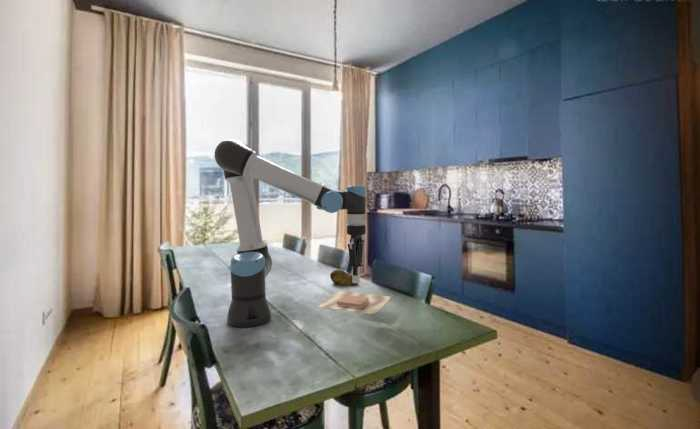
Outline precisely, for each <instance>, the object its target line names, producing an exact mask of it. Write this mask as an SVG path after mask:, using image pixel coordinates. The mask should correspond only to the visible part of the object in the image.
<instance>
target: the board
mask: <svg viewBox="0 0 700 429" xmlns="http://www.w3.org/2000/svg"><path fill="white" fill-rule="evenodd" d="M345 295H352V296H361V297H369V302H368V303H366V304H365V305H364V306H363V307H362V308H353V307H345V306H338V305H337V301H338V300H339V299H341V298H342V297H343V296H345ZM391 298H392V296H389V295H380V294H372V293H371V294H369V293H363V292H362V293H361V292H354V291H344V290H337V291H336V292H335V293H333V294H332V295H330V296H329V297H327V298H326V299H325V300H324V301H322V302H320V303H319V304H317V305H316V306H315V307H316V308H323V309H331V310H340V311H346V312H353V313H354V312H355V313H361V314H367V315H368V314H369V315H377V314H378V313H379V312H380V311H381V309H382V308H383V307H384V306H385V305H386V304H387V303H388V302H389V300H390V299H391Z"/></svg>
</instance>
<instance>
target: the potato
mask: <svg viewBox="0 0 700 429" xmlns="http://www.w3.org/2000/svg"><path fill="white" fill-rule="evenodd" d="M329 278H330V279H331V282H332V283H333V284H335V285H339V286H343V287H349V286H350V287H352V286H357V285H359V284H358V283H352V274H350V273H348V272H346V271H344V270H342V269H334V270H333V271H331V273H330V277H329Z"/></svg>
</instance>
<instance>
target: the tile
mask: <svg viewBox="0 0 700 429" xmlns="http://www.w3.org/2000/svg"><path fill="white" fill-rule="evenodd" d="M368 302H369V297H361V296H352V295H345V296H343V297H342V298H341V299H339V300H338V301H337V305H338V306H345V307H353V308H362V307H363V306H364V305H365V304H366V303H368Z"/></svg>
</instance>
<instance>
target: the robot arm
mask: <svg viewBox="0 0 700 429" xmlns="http://www.w3.org/2000/svg"><path fill="white" fill-rule="evenodd" d="M214 160H215V163H216V164H217V165H218V167H219V168H221V169H222V170H223V171H222V172H223V176H224V180H225V181H226V182H228V183H229V187H230V192H231V197H232V204H233V210H234V217H235V222H236V228H237V233H238V234H237V235H238V240H239V246H238V248H236V251H237V254H235V255H233V256H232V257H231V259H230V265H229V267H230V268H229V269H230V285H231V286H230V288H231V291H230V292H231V302H230V305H229V307H228V308H229V309H228V312H227V315H226V319H227V320H226V323H227V324H228V325H229V326H230V327H235V328H253V327H257V326H258V327H259V326H261V325H265V324H266V323H268V322H269V321H270V320H271V319H272V310H271V309H270V306H269V303H268V300H267V298H266V278H267V277H268V275H269V273H271V269H272V267H273V266H272V265H273V261H272V257H271V255H270V253H269V247H268V244H267V243H266V242H265V241H264V240H263V236H262V230H261V228H262V227H261V223H260V217H259V211H258V205H257V199H256V191H255V186H254V179H255V180H258V181H259V182H262V183H265V184H267V185H268V186H271V187H273V188H275V189H278V190H279V191H282V192H284V193H287V194H288V195H290V196H293V197H295V198H298V199H299V200H303V201H304V202H307V203H309V204H311V205H313V206H315V207H316V209H317V210H320V211H321V210H323V211H325V212H327V213H329V214H334V213H337V212H339V211H342V210H344V211H345V210H346V224H347V225H346V234H347V235H350V239H349V243H348V244H347V248H348V257H349V267H350V268H352V269H351V270H352V271H351V272H352V273H351V275H352V283H358V285H359V284H360V283H361V267H363V264H362V263H363V254H364V252H363V251H364V243H365V239H363V237H362V236H363V235H366V229H367V228H366V220H367V218H368V217H367V216H366V214H367V213H366V212H367V209H366V204H367V202H366V201H367V197H366V195H367V193H366V187H365V185H347V186H346V188H345V189H346V190H345V189H344V190H333V189H331V188H329V187H326V186H323V185H322V184H319V183H317V182H315V181H312V180H310V179H309V178H307V177H304V176H302V175H300V174H298V173H296V172H293V171H291V170H289V169H287V168H285V167H282V166H280V165H278V164H276V163H274V162H271V161H270V160H267V159H266V158H263V157H261V156H258V154H257V152H256V151H254V150H253V149H252V148H251V147H250V146H249V145H248V144H246V143H244V142H241V141H239V140H237V139H231V138H229V139H225V140H222V141H221V142H220V143H218V145H217V146H216V148H215V150H214Z"/></svg>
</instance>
